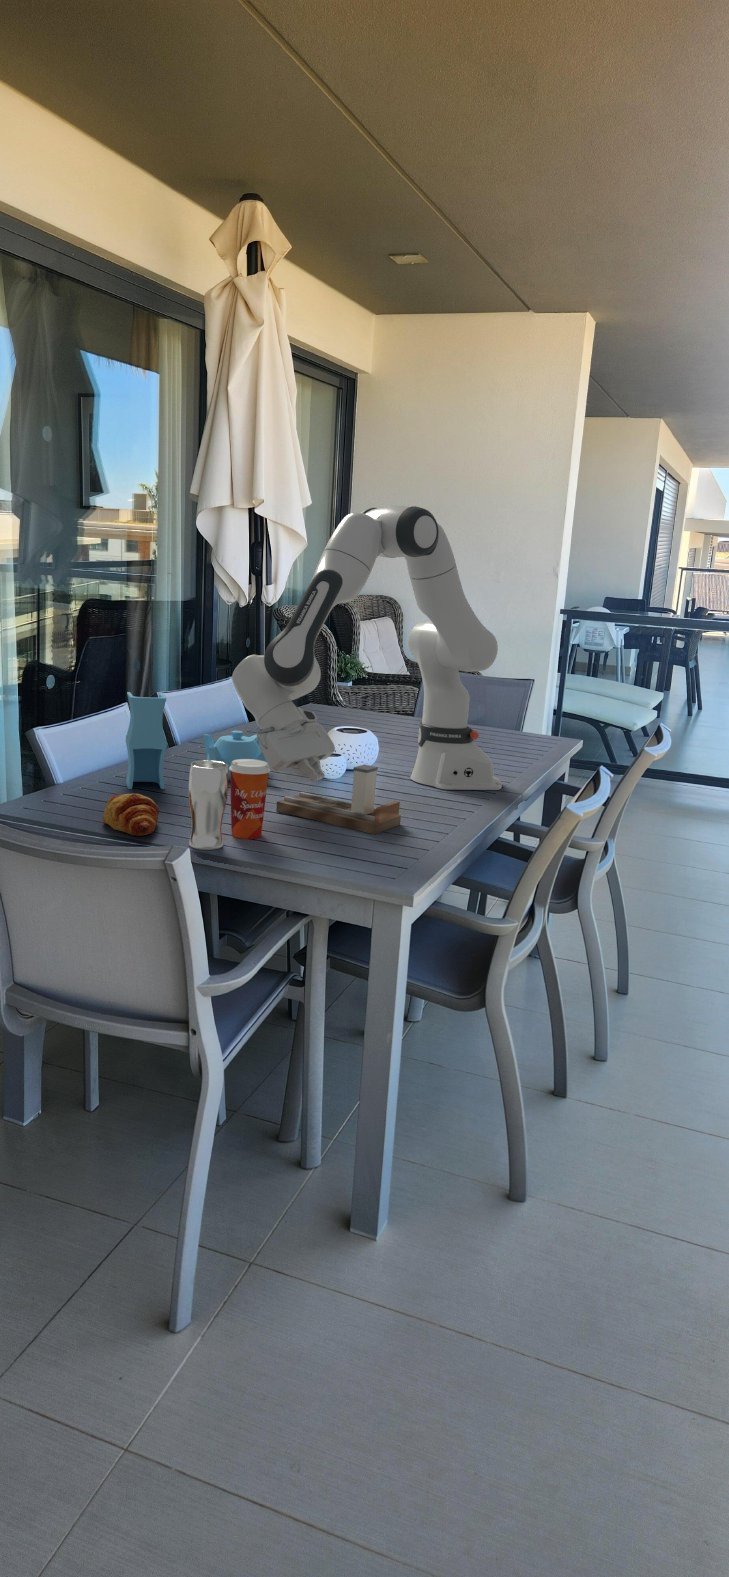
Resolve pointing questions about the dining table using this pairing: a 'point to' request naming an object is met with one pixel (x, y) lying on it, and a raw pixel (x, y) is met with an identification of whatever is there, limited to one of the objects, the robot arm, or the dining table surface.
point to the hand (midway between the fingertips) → (318, 778)
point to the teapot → (232, 748)
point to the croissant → (131, 814)
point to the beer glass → (207, 803)
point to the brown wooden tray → (341, 812)
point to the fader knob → (364, 789)
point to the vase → (145, 740)
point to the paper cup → (248, 797)
